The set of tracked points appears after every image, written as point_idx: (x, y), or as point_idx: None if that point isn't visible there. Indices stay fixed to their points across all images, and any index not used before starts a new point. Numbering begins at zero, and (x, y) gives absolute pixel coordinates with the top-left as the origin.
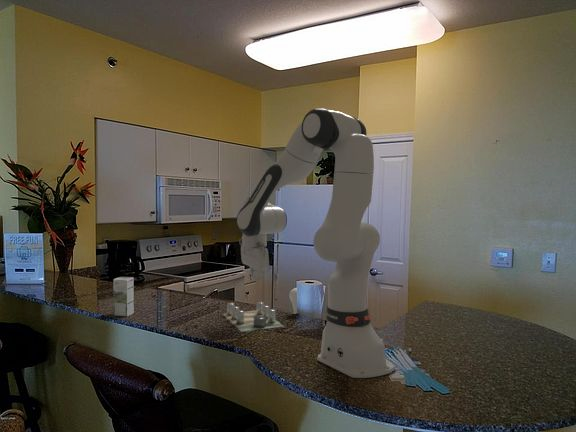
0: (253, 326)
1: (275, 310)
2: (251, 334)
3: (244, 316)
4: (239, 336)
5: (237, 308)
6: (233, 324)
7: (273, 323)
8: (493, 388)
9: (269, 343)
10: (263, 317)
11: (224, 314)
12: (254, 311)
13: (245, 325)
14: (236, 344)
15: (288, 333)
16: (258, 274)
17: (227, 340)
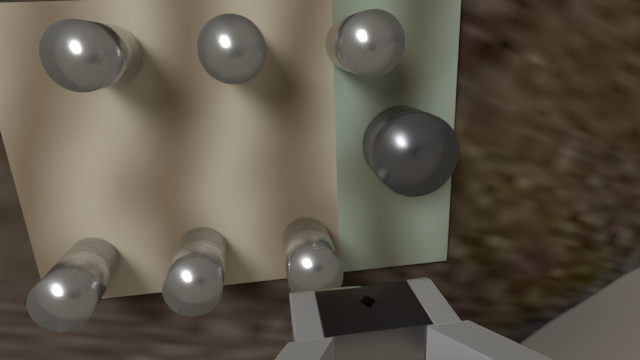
0: None
1: (391, 14)
2: (469, 208)
3: (153, 181)
4: (471, 267)
5: (220, 277)
6: None
7: None
8: None
9: (622, 161)
10: (420, 130)
11: None
12: (17, 73)
13: (354, 218)
14: (560, 296)
15: (545, 7)
16: (479, 327)
17: (497, 322)
